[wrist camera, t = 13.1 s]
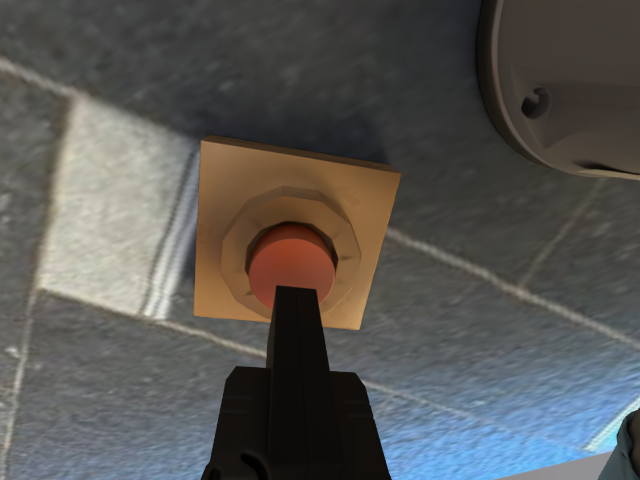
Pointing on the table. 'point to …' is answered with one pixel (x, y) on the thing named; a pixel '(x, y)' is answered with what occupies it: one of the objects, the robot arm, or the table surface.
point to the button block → (287, 222)
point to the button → (291, 263)
